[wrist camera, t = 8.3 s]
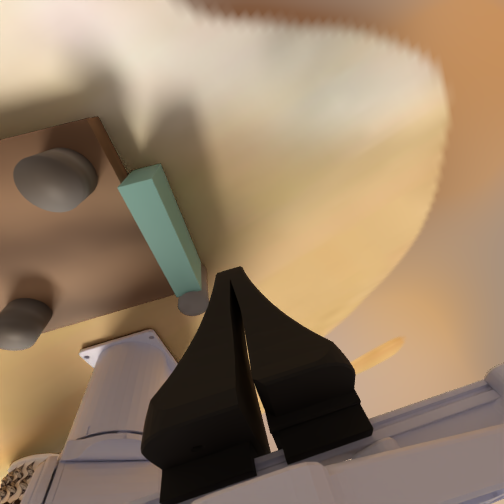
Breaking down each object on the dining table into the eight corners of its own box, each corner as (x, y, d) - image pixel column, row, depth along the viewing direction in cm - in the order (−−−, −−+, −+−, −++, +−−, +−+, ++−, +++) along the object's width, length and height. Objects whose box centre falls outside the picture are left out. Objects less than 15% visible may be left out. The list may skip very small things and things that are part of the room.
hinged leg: (209, 277, 23) (212, 310, 20) (186, 284, 23) (184, 319, 19) (163, 162, 17) (154, 179, 13) (130, 170, 17) (112, 190, 13)
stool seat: (180, 279, 23) (177, 313, 19) (35, 321, 22) (2, 365, 18) (98, 116, 15) (65, 121, 11) (-133, 173, 14) (-250, 199, 10)
